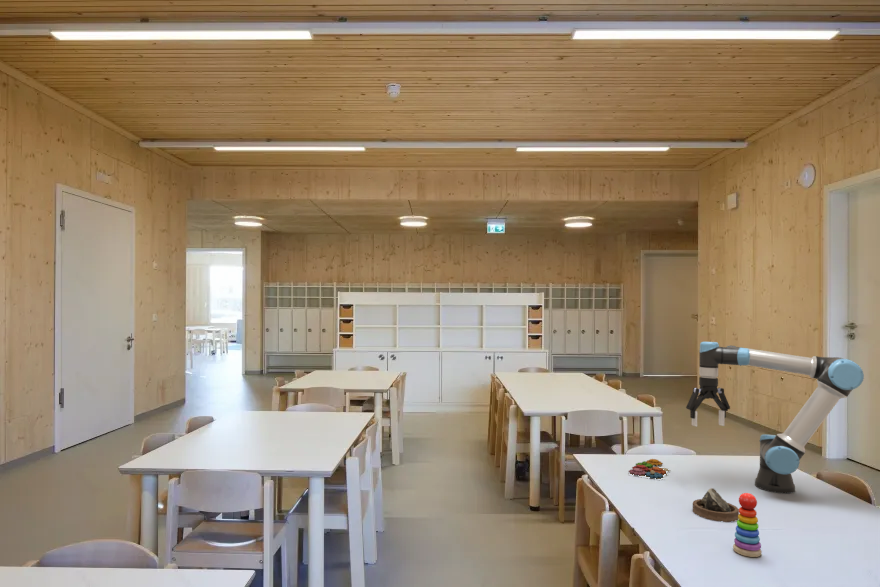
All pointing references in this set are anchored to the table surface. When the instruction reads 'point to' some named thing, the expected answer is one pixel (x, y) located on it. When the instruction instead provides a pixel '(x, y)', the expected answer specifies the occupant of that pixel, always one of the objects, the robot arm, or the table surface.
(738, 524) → the stacking toy
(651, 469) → the gear puzzle
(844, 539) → the table surface
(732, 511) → the round tray
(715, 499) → the grey brown rock
